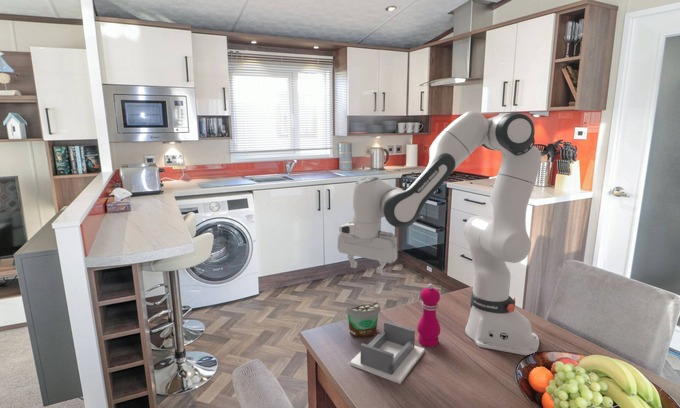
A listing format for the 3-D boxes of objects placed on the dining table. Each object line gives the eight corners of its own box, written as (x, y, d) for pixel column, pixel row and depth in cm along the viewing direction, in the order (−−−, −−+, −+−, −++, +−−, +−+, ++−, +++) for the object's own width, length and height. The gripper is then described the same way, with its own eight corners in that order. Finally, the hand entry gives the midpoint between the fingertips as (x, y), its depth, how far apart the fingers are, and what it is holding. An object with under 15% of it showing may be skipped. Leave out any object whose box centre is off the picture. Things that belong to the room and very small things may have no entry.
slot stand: (424, 351, 121) (425, 331, 120) (400, 384, 106) (400, 361, 105) (378, 336, 130) (378, 317, 128) (350, 364, 115) (349, 343, 113)
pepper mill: (440, 349, 122) (443, 289, 118) (416, 346, 124) (418, 287, 120) (439, 336, 129) (442, 280, 125) (417, 334, 131) (419, 278, 127)
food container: (353, 343, 126) (353, 315, 124) (345, 334, 131) (345, 306, 129) (387, 335, 131) (387, 307, 129) (378, 326, 136) (378, 299, 134)
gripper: (401, 231, 120) (400, 273, 123) (345, 222, 131) (345, 261, 134) (392, 236, 115) (391, 280, 118) (334, 226, 126) (335, 267, 129)
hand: (366, 270), depth 126 cm, fingers open, 8 cm apart
